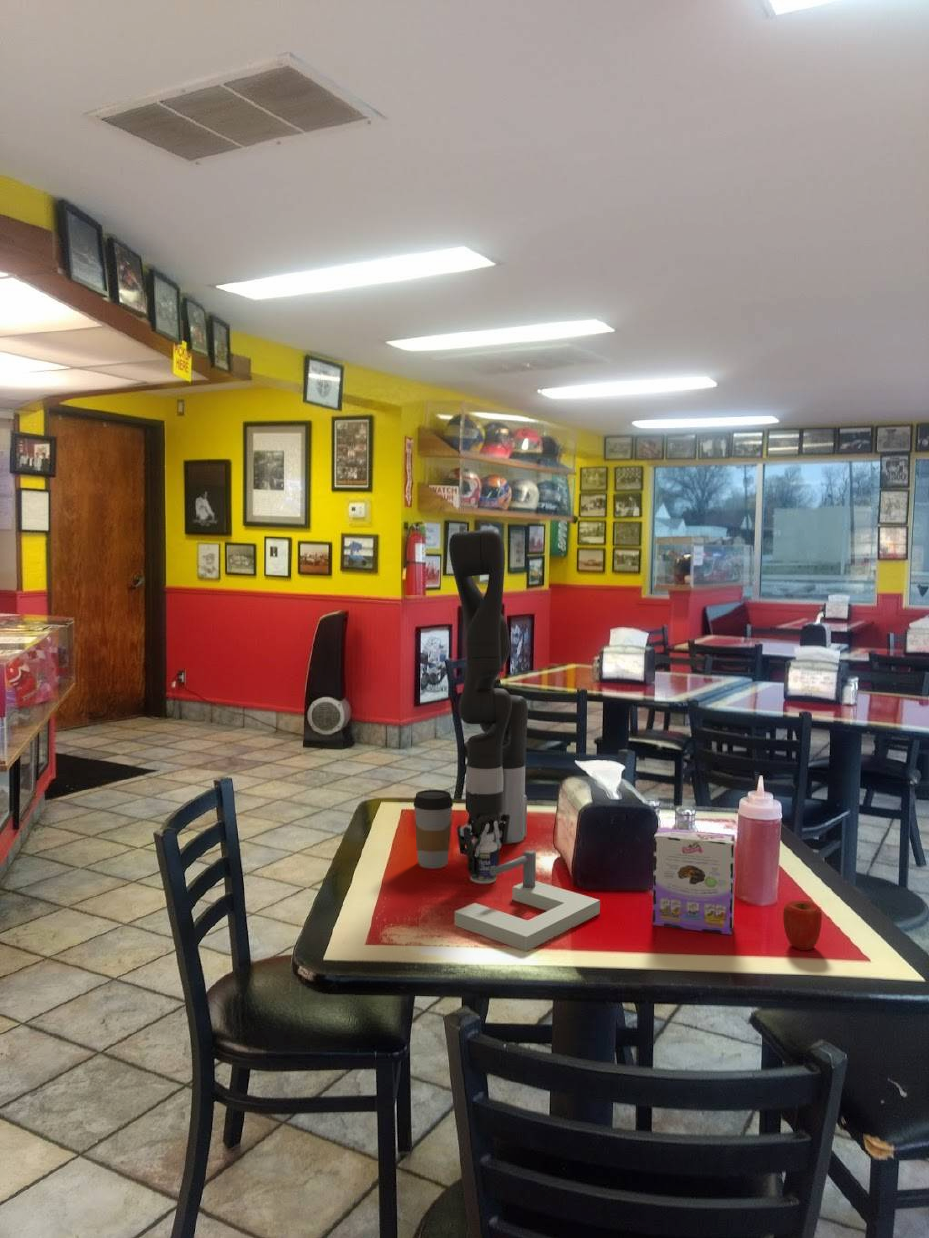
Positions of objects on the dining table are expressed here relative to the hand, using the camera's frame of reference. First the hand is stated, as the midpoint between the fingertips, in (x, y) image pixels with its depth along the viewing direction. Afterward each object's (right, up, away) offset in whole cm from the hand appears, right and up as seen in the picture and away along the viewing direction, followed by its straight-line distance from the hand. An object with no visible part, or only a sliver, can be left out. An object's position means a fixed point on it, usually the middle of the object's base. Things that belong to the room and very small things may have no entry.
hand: (483, 869), depth 188 cm
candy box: (+37, -4, -21) cm, 43 cm away
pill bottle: (0, -2, 0) cm, 2 cm away
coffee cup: (-10, -1, +9) cm, 14 cm away
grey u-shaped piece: (+8, -4, -20) cm, 22 cm away
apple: (+53, -5, -30) cm, 61 cm away
